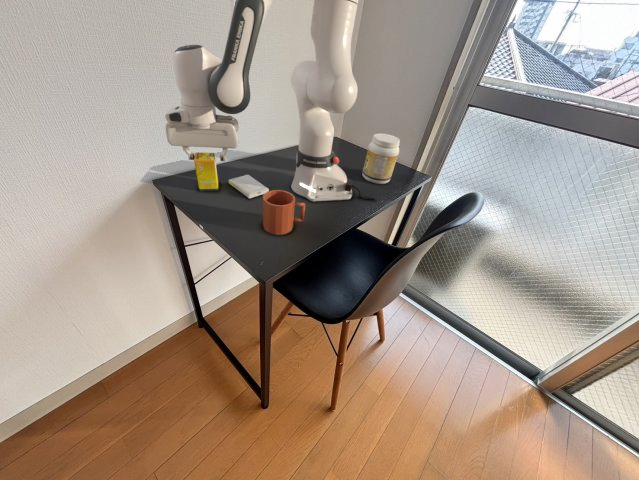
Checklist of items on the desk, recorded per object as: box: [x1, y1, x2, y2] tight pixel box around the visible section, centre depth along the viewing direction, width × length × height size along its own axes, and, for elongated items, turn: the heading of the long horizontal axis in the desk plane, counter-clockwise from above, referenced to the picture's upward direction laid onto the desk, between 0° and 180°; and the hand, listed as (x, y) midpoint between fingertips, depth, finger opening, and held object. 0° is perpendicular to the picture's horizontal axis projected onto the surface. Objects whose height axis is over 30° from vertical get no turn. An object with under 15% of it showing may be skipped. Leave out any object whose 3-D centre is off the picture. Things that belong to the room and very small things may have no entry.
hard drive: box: [228, 174, 270, 199], centre depth 94 cm, size 2×8×12 cm
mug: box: [262, 189, 306, 236], centre depth 77 cm, size 12×9×10 cm
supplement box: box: [193, 151, 219, 192], centre depth 89 cm, size 6×6×11 cm
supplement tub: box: [361, 132, 401, 185], centre depth 109 cm, size 12×12×17 cm
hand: (207, 159), depth 87 cm, fingers open, 8 cm apart
